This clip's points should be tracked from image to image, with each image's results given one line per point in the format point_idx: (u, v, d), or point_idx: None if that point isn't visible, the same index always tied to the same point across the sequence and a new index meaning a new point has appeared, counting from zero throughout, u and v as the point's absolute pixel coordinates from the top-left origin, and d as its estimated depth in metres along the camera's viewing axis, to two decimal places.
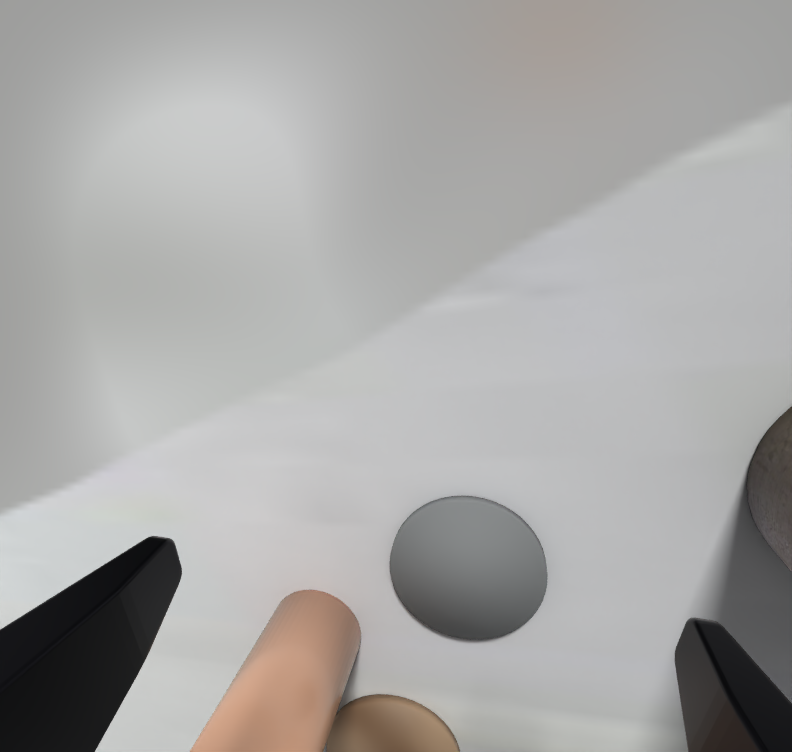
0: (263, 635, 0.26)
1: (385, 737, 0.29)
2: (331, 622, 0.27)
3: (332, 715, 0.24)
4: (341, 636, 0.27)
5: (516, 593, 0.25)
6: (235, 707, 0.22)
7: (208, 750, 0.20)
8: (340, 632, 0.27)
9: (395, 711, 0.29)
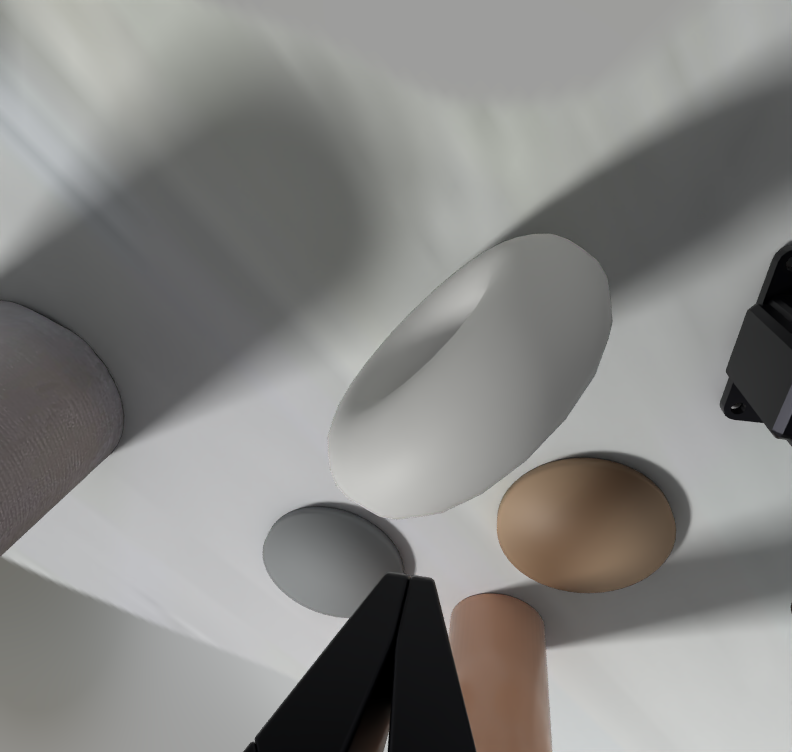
0: None
1: (557, 550, 0.25)
2: None
3: (462, 691, 0.24)
4: (449, 641, 0.27)
5: (311, 534, 0.27)
6: None
7: None
8: (449, 641, 0.27)
9: (515, 555, 0.25)
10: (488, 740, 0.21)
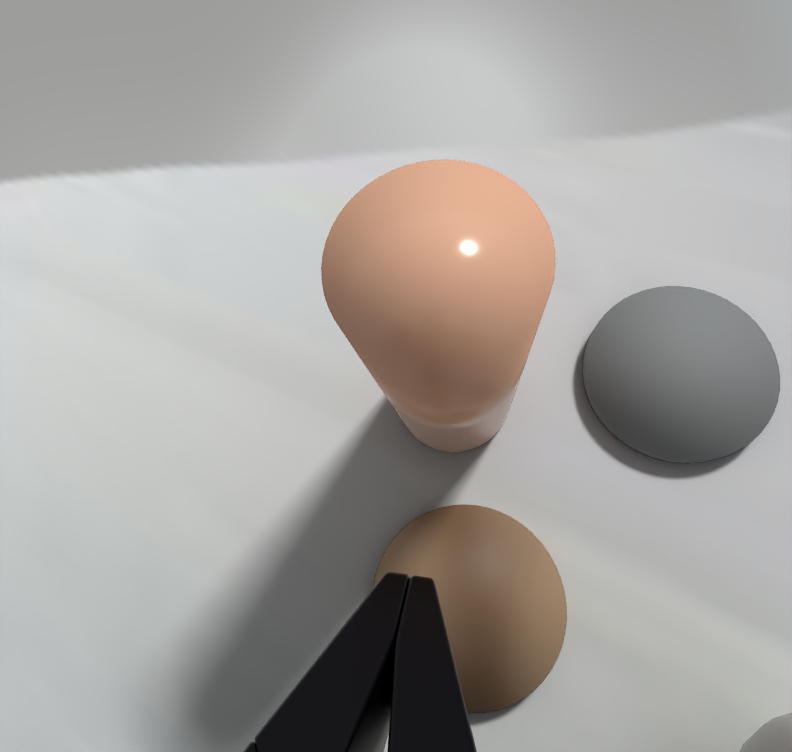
0: None
1: (475, 564, 0.21)
2: None
3: (514, 393, 0.18)
4: None
5: (732, 412, 0.21)
6: None
7: None
8: None
9: (508, 527, 0.21)
10: (492, 409, 0.16)
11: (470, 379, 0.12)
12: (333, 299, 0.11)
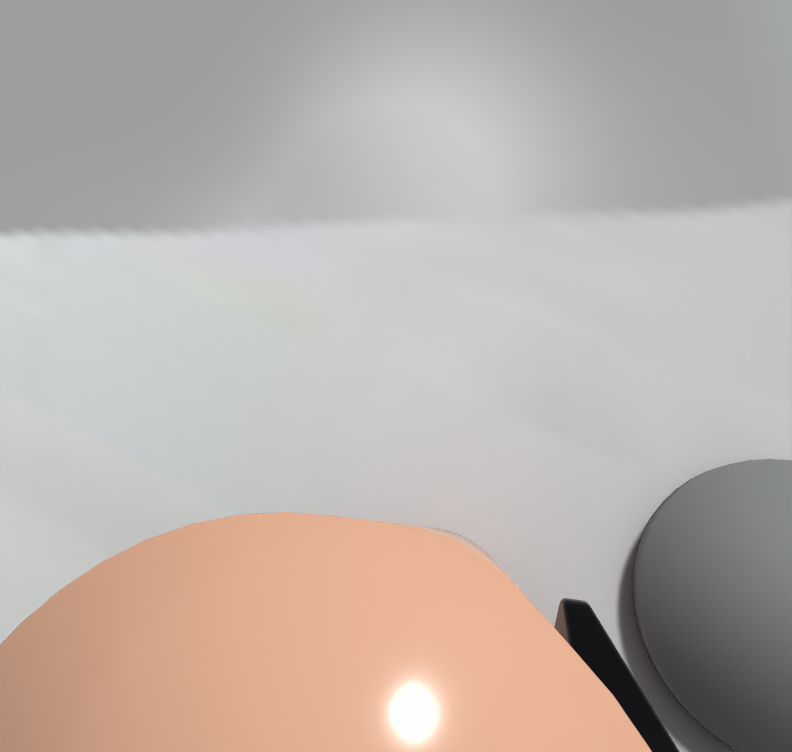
0: None
1: None
2: None
3: None
4: None
5: None
6: None
7: None
8: None
9: None
10: None
11: None
12: None
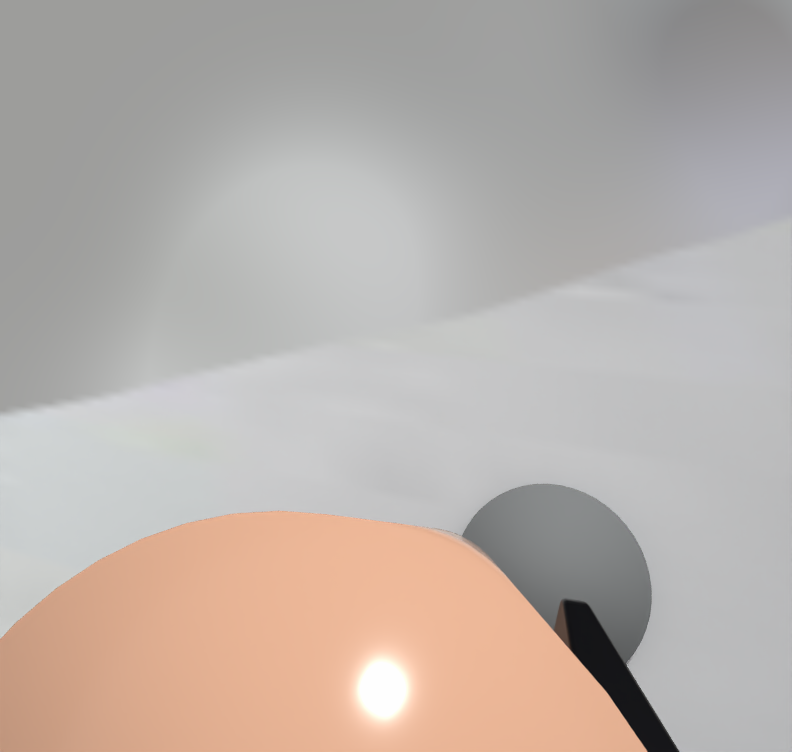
0: None
1: None
2: None
3: None
4: None
5: (609, 622, 0.20)
6: (418, 526, 0.09)
7: None
8: None
9: None
10: None
11: None
12: None
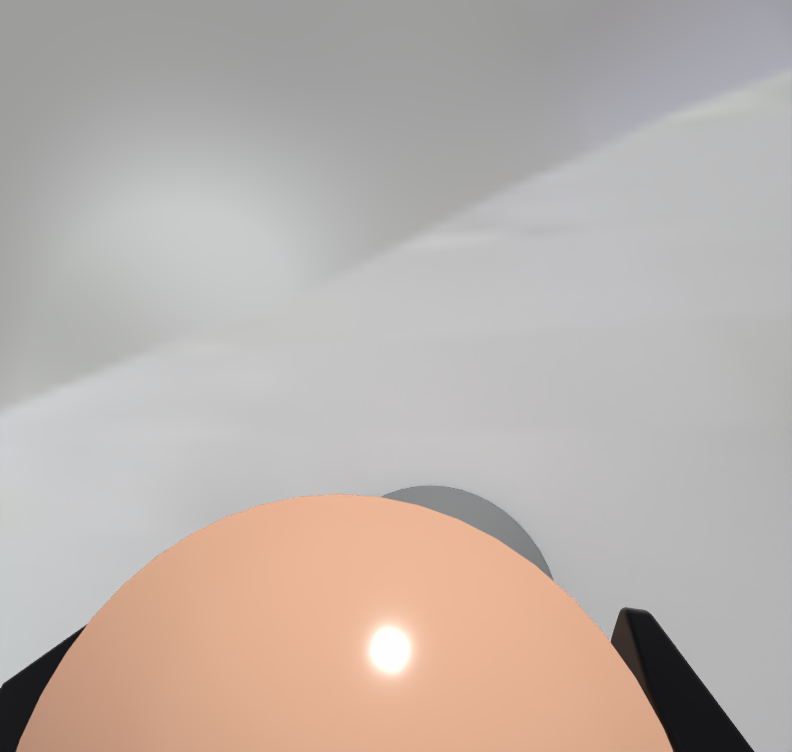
0: None
1: None
2: None
3: None
4: None
5: None
6: None
7: None
8: None
9: None
10: None
11: None
12: None
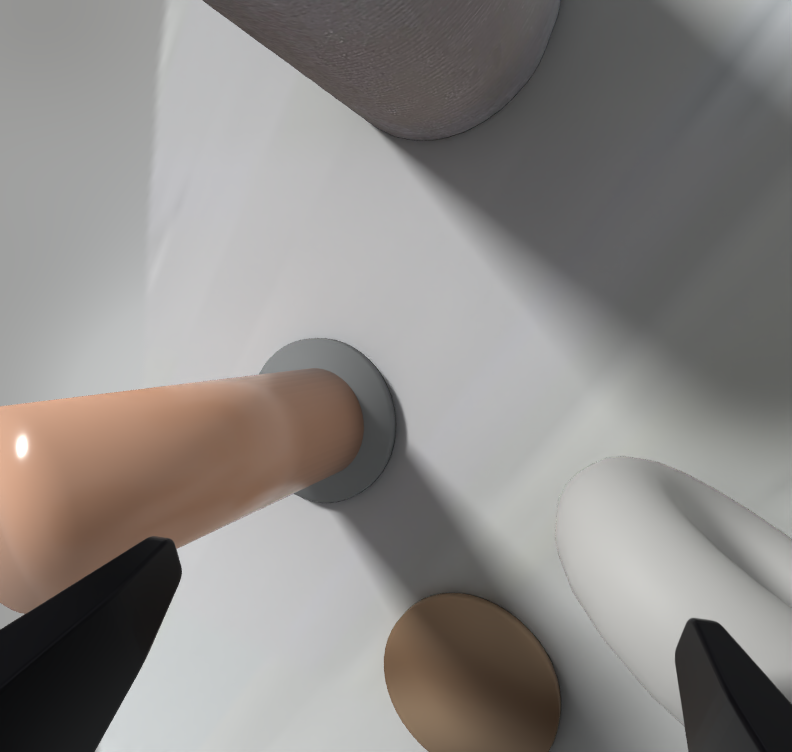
0: None
1: (434, 664, 0.23)
2: (298, 371, 0.22)
3: (286, 416, 0.19)
4: (311, 377, 0.22)
5: (356, 394, 0.23)
6: None
7: None
8: (310, 376, 0.22)
9: (410, 621, 0.23)
10: (254, 466, 0.17)
11: (115, 544, 0.13)
12: (0, 597, 0.13)
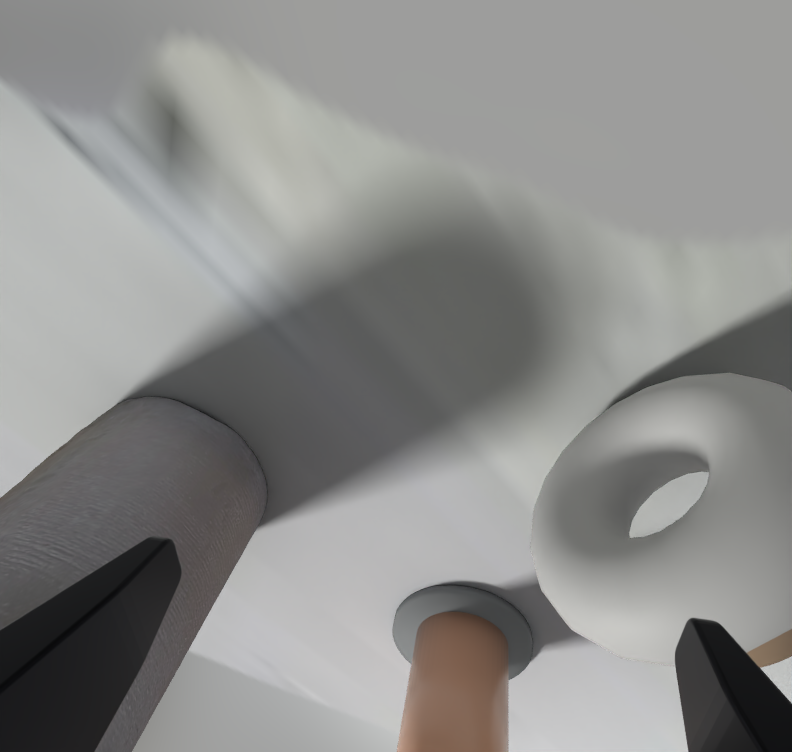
0: None
1: None
2: (414, 654, 0.27)
3: (438, 709, 0.24)
4: (421, 651, 0.27)
5: (446, 611, 0.28)
6: None
7: None
8: (419, 649, 0.27)
9: None
10: None
11: None
12: None
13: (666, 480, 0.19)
